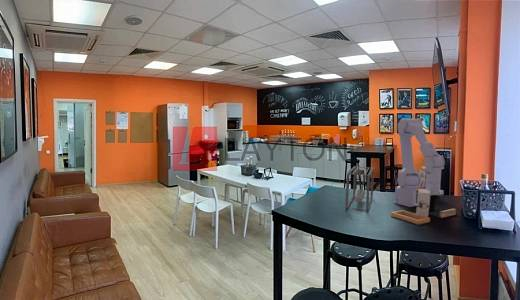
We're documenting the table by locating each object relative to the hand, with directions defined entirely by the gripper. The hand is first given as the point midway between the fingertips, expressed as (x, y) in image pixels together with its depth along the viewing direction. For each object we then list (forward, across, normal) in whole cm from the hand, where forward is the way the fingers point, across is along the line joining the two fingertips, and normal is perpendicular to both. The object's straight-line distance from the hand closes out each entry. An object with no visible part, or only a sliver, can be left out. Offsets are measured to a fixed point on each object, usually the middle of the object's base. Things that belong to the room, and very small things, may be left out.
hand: (431, 211), depth 143 cm
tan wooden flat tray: (+1, -16, 0) cm, 16 cm away
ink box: (+2, -7, 0) cm, 7 cm away
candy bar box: (+2, +34, +24) cm, 42 cm away
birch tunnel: (+1, +5, 0) cm, 5 cm away
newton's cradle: (+2, -15, +29) cm, 32 cm away
